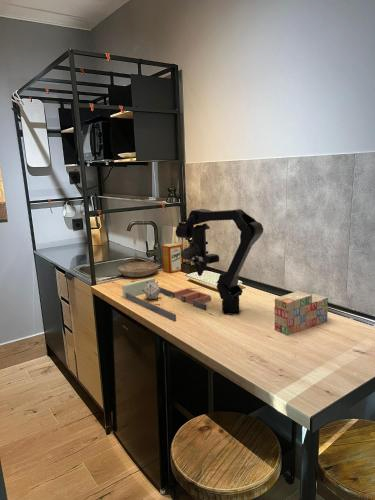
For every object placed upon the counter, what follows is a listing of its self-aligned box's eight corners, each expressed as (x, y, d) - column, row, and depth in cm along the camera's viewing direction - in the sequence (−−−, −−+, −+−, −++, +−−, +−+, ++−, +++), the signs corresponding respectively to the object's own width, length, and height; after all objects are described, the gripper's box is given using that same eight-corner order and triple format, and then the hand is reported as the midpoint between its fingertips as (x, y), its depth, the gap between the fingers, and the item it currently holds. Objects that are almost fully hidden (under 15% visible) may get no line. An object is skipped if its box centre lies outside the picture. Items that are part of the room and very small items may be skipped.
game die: (156, 305, 173) (167, 287, 174) (152, 305, 164) (164, 285, 165) (140, 295, 174) (151, 277, 175) (135, 294, 166) (147, 275, 167)
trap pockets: (210, 300, 165) (210, 295, 165) (195, 305, 160) (195, 300, 159) (188, 292, 177) (188, 287, 177) (173, 297, 172) (173, 292, 171)
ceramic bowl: (167, 273, 213) (167, 265, 212) (133, 282, 198) (133, 273, 197) (143, 267, 230) (142, 259, 229) (110, 275, 214) (109, 266, 213)
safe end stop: (155, 290, 183) (155, 278, 182) (125, 298, 173) (124, 286, 172) (152, 289, 185) (152, 277, 184) (123, 297, 175) (122, 284, 173)
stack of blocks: (313, 316, 144) (314, 285, 142) (327, 321, 139) (328, 289, 137) (274, 330, 133) (274, 297, 131) (287, 336, 128) (288, 302, 125)
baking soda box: (176, 268, 223) (174, 242, 220) (183, 270, 218) (181, 243, 215) (163, 271, 217) (161, 244, 214) (170, 273, 212) (168, 246, 209)
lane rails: (206, 310, 154) (206, 304, 154) (174, 321, 144) (174, 315, 144) (155, 290, 183) (155, 285, 183) (125, 298, 173) (125, 293, 172)
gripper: (170, 239, 157) (171, 275, 161) (198, 245, 143) (200, 284, 146) (190, 236, 164) (191, 270, 167) (219, 241, 150) (220, 278, 153)
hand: (200, 275), depth 158 cm, fingers closed
